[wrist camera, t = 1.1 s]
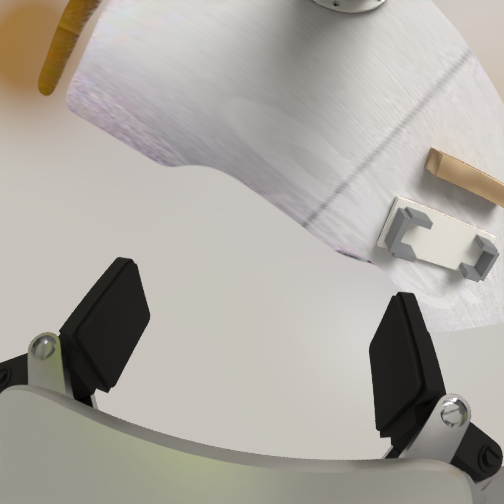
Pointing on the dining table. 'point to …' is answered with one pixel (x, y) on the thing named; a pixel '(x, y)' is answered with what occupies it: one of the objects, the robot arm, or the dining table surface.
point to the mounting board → (437, 239)
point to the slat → (465, 176)
